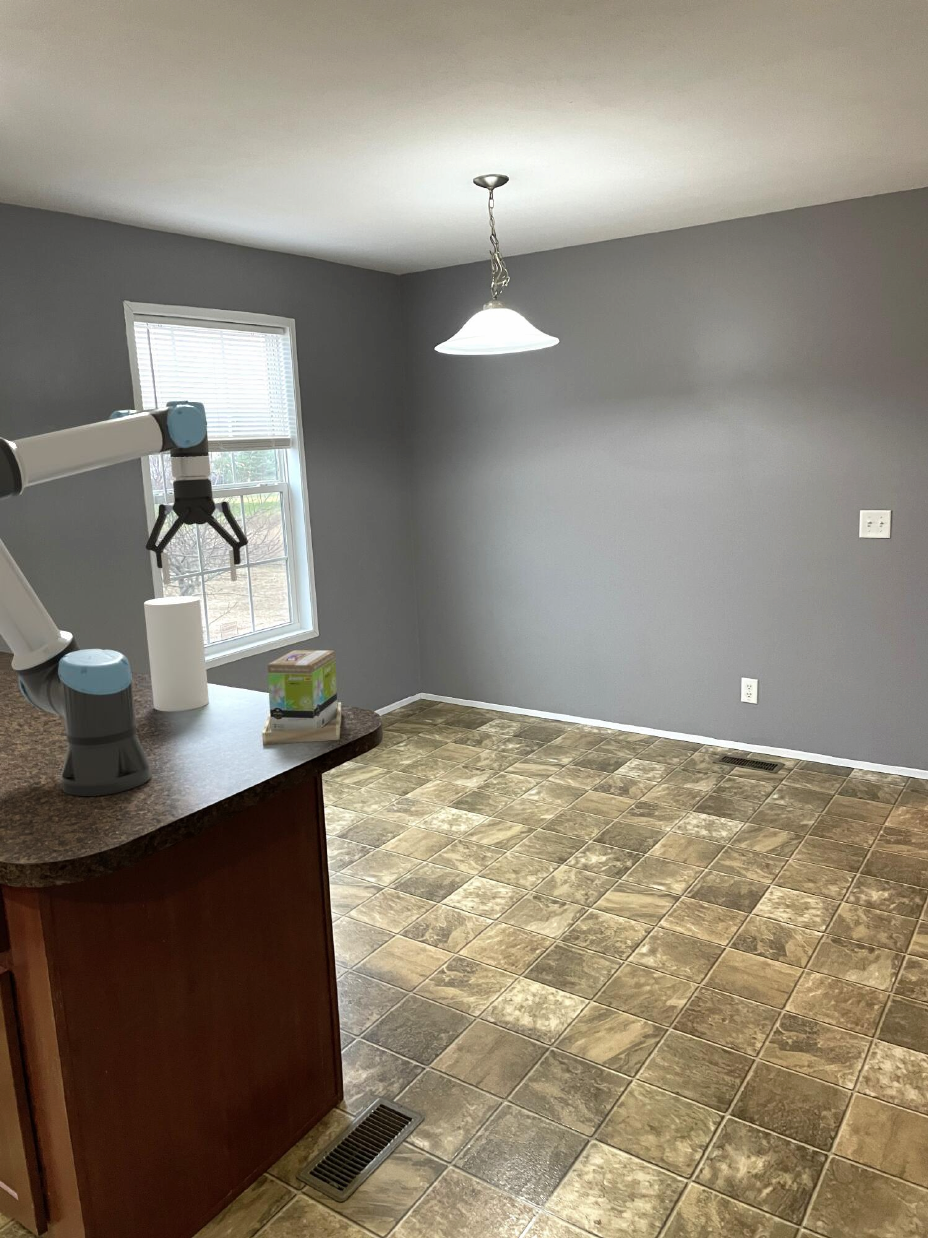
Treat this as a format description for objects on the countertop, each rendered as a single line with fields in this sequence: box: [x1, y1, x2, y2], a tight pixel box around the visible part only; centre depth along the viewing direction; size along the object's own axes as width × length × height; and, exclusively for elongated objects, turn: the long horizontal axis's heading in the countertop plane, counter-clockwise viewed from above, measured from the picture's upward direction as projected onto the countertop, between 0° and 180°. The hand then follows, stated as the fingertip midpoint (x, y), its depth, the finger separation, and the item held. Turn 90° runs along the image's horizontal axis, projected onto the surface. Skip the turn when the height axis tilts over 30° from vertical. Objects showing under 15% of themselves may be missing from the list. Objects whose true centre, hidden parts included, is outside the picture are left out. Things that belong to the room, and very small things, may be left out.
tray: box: [261, 701, 343, 746], centre depth 197 cm, size 20×15×2 cm
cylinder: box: [143, 595, 210, 712], centre depth 219 cm, size 12×12×25 cm
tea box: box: [267, 649, 338, 731], centre depth 196 cm, size 15×10×15 cm
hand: (200, 582), depth 193 cm, fingers open, 13 cm apart
